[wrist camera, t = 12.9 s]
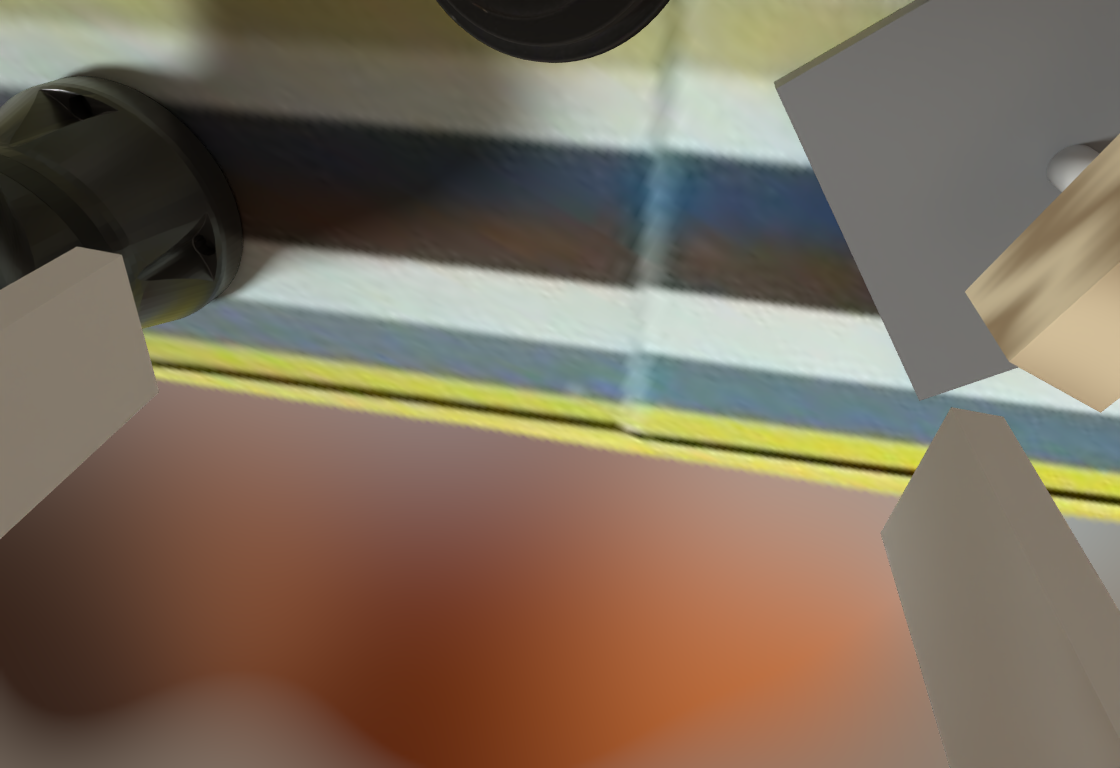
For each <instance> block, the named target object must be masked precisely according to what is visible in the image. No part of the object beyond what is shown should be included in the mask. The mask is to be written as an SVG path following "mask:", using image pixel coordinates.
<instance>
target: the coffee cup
mask: <svg viewBox="0 0 1120 768" xmlns="http://www.w3.org/2000/svg"><path fill="white" fill-rule="evenodd" d="M436 1H437V2H438V3H439V4H440V6H441V7H442V8H443V9H444V10H445V12H446V13H447V14H448V15H449V16H450V17H451V18H452V19H453V20H454V21H455V22H456V23H457V24H458V25H459V26H461V27H462V28H463V29H464V30H465V31H466V32H468V33H469V34H470V35H472V36H473V37H475V38H476V39H477V40H479V41H481V42H482V43H484V44H486V45H487V46H489V47H491V48H493V49H495V50H497V51H499V52H502V53H505V54H507V55H510V56H513V57H517V58H520V59H524V60H530V61H536V62H548V63H562V62H572V61H579V60H583V59H587V58H591V57H594V56H597V55H600V54H603V53H605V52H607V51H609V50H612V49H614V48H616V47H617V46H619V45H621V44H623V43H624V42H626V41H627V40H629V39H630V38H632V37H633V36H635V35H636V34H637V33H639V32H640V31H641V30H642V29H643V28H644V27H646V26H647V25H648V24H649V23H650V22H651V21H652V20H653V19H654V18H655V17H656V16H657V15H658V14H659V13H660V12H661V10H662V9H663V8H664V7H665V6H666V4H667V3H668V2H669V1H670V0H436Z"/></svg>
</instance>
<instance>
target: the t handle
mask: <svg viewBox="0 0 1120 768" xmlns="http://www.w3.org/2000/svg"><path fill="white" fill-rule="evenodd" d="M965 293H966V294H967V296H968V298H969V299H970V301H971V302H972V304H973V305H974V307H975V309H976V310H977V312H978V313H979V315H980V317H981V318H982V320H983V321H984V323H985V324H986V326H987V328H988V329H989V331H990V332H991V334H992V336H993V337H994V339H995V340H996V342H997V343H998V345H999V347H1000V348H1001V350H1002V351H1003V353H1004V355H1005V356H1006V358H1007V359H1008V361H1009V362H1010V363H1012V364H1014V365H1016V366H1018V367H1019V368H1021V369H1023V370H1025V371H1027V372H1028V373H1030V374H1032V375H1034V376H1036V377H1037V378H1039V379H1041V380H1043V381H1045V382H1046V383H1048V384H1050V385H1052V386H1054V387H1055V388H1057V389H1059V390H1061V391H1063V392H1064V393H1066V394H1068V395H1070V396H1072V397H1073V398H1075V399H1077V400H1079V401H1081V402H1082V403H1084V404H1086V405H1088V406H1090V407H1091V408H1093V409H1095V410H1097V411H1099V412H1100V413H1101V412H1102V411H1103V410H1105V409H1106V408H1107V407H1108V406H1110V405H1111V404H1112V403H1114V402H1115V401H1116V400H1117V399H1119V398H1120V134H1119V135H1118V136H1117V137H1116V138H1115V139H1114V140H1113V141H1112V142H1111V143H1110V144H1109V145H1108V146H1107V147H1106V148H1105V149H1104V150H1103V151H1102V152H1101V153H1100V154H1099V155H1098V156H1097V157H1096V158H1095V159H1094V160H1093V161H1092V162H1091V163H1090V164H1089V165H1088V166H1087V167H1086V168H1085V169H1084V170H1083V171H1082V172H1081V173H1080V175H1079V176H1078V177H1077V178H1076V179H1075V180H1074V181H1073V182H1072V183H1071V184H1070V185H1069V186H1068V187H1067V188H1066V189H1065V190H1064V191H1063V192H1062V193H1061V194H1060V195H1059V196H1058V197H1057V198H1056V199H1055V200H1054V201H1053V202H1052V203H1051V204H1050V205H1049V206H1048V207H1047V208H1046V209H1045V210H1044V211H1043V212H1042V213H1041V214H1040V215H1039V216H1038V217H1037V218H1036V219H1035V220H1034V221H1033V222H1032V223H1031V224H1030V225H1029V227H1028V228H1027V229H1026V230H1025V231H1024V232H1023V233H1022V234H1021V235H1020V236H1019V237H1018V238H1017V239H1016V240H1015V241H1014V242H1013V243H1012V244H1011V245H1010V246H1009V247H1008V248H1007V249H1006V250H1005V251H1004V252H1003V253H1002V254H1001V255H1000V256H999V257H998V258H997V259H996V260H995V261H994V262H993V263H992V264H991V265H990V266H989V267H988V268H987V269H986V270H985V271H984V272H983V273H982V274H981V275H980V276H979V278H978V279H977V280H976V281H975V282H974V283H973V284H972V285H971V286H970V287H969V288H968V289H967V290H966V291H965Z"/></svg>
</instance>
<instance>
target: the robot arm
mask: <svg viewBox="0 0 1120 768" xmlns="http://www.w3.org/2000/svg"><path fill="white" fill-rule="evenodd" d="M241 254H242V228H241V221H240V216H239V212H238V209H237V205H236V202H235V199H234V197H233V194H232V192H231V189H230V187H229V185H228V183H227V181H226V179H225V177H224V175H223V173H222V171H221V170H220V168H219V166H218V165H217V163H216V162H215V160H214V159H213V157H212V156H211V154H210V153H209V152H208V150H207V149H206V148H205V147H204V145H203V144H202V143H201V142H200V140H199V139H198V138H197V137H196V136H195V135H194V134H193V133H192V132H191V131H190V130H189V129H188V128H187V127H186V126H185V125H184V124H183V123H182V122H181V121H180V120H179V119H178V118H177V117H175V116H174V115H173V114H172V113H171V112H169V111H168V110H167V109H165V108H164V107H163V106H161V105H160V104H158V103H157V102H155V101H154V100H152V99H151V98H149V97H147V96H146V95H144V94H142V93H140V92H138V91H136V90H134V89H132V88H130V87H127V86H125V85H122V84H119V83H117V82H114V81H110V80H106V79H101V78H96V77H85V76H77V77H68V78H63V79H59V80H55V81H51V82H48V83H44V84H40V85H37V86H34V87H31V88H28V89H26V90H24V91H22V92H20V93H18V94H17V95H15V96H13V97H12V98H11V99H9V100H8V101H7V102H6V103H5V104H4V105H3V106H2V107H0V539H1V538H2V537H3V536H4V535H5V534H6V533H7V532H8V531H9V530H10V529H11V528H12V527H14V526H15V525H16V524H17V523H18V522H19V521H20V520H21V519H22V518H23V517H24V516H25V515H26V514H28V513H29V512H30V511H31V510H32V509H33V508H34V507H35V506H36V505H37V504H38V503H39V502H40V501H42V500H43V499H44V498H45V497H46V496H47V495H48V494H49V493H50V492H51V491H52V490H54V489H55V487H57V486H58V485H59V484H60V483H61V482H62V481H63V480H64V479H65V478H67V476H69V475H70V474H71V473H72V472H73V471H74V470H75V469H76V468H77V467H78V466H80V465H81V464H82V463H83V462H84V461H85V460H86V459H87V458H88V457H89V456H90V455H91V454H92V453H94V452H95V451H96V450H97V449H98V448H99V447H100V446H101V445H102V444H103V443H104V442H106V441H107V440H108V439H109V438H110V437H111V436H112V435H113V434H114V433H115V432H116V431H117V430H118V429H120V428H121V427H122V426H123V425H124V424H125V423H126V422H127V421H128V420H129V419H130V418H131V417H133V416H134V415H135V414H136V413H137V412H138V411H139V410H140V409H141V408H142V407H143V406H144V405H146V404H147V403H148V402H149V401H150V400H151V399H152V398H153V397H154V396H155V395H156V394H157V393H159V390H158V386H157V382H156V379H155V375H154V371H153V368H152V364H151V360H150V357H149V353H148V349H147V346H146V342H145V338H144V334H143V331H142V329H143V328H147V327H151V326H155V325H158V324H162V323H166V322H170V321H174V320H178V319H181V318H184V317H186V316H188V315H191V314H193V313H195V312H197V311H198V310H200V309H201V308H203V307H204V306H205V305H207V304H208V303H209V302H210V301H212V300H213V299H214V298H216V297H217V296H218V295H219V294H221V293H222V292H223V291H224V290H225V289H226V288H227V287H228V285H229V284H230V283H231V281H232V280H233V278H234V276H235V274H236V272H237V269H238V267H239V263H240V260H241ZM881 536H882V540H883V543H884V546H885V550H886V553H887V556H888V560H889V563H890V567H891V570H892V573H893V577H894V580H895V583H896V587H897V590H898V593H899V597H900V601H901V604H902V607H903V611H904V614H905V618H906V621H907V624H908V628H909V631H910V635H911V638H912V641H913V645H914V648H915V652H916V655H917V658H918V661H919V665H920V668H921V672H922V675H923V679H924V682H925V685H926V689H927V692H928V696H929V699H930V702H931V706H932V709H933V713H934V716H935V719H936V723H937V726H938V729H939V733H940V736H941V739H942V743H943V746H944V750H945V753H946V756H947V760H948V763H949V767H950V768H1120V611H1119V610H1118V608H1117V606H1116V605H1115V603H1114V601H1113V599H1112V598H1111V596H1110V594H1109V593H1108V591H1107V589H1106V588H1105V586H1104V584H1103V583H1102V581H1101V579H1100V578H1099V576H1098V574H1097V573H1096V571H1095V569H1094V568H1093V566H1092V564H1091V563H1090V561H1089V559H1088V558H1087V556H1086V554H1085V553H1084V551H1083V549H1082V548H1081V546H1080V544H1079V543H1078V541H1077V540H1076V538H1075V536H1074V534H1073V533H1072V531H1071V529H1070V528H1069V526H1068V524H1067V523H1066V521H1065V519H1064V517H1063V516H1062V514H1061V512H1060V511H1059V509H1058V507H1057V506H1056V504H1055V502H1054V501H1053V499H1052V497H1051V496H1050V494H1049V492H1048V491H1047V489H1046V487H1045V486H1044V484H1043V482H1042V481H1041V479H1040V477H1039V476H1038V474H1037V472H1036V471H1035V469H1034V467H1033V466H1032V464H1031V462H1030V461H1029V459H1028V457H1027V456H1026V454H1025V452H1024V451H1023V449H1022V447H1021V446H1020V444H1019V442H1018V441H1017V439H1016V437H1015V436H1014V434H1013V432H1012V430H1011V429H1010V427H1009V425H1008V424H1007V422H1006V420H1005V419H1004V417H1001V416H996V415H990V414H985V413H979V412H974V411H968V410H963V409H958V408H952V407H951V409H950V410H949V412H948V414H947V416H946V418H945V419H944V421H943V423H942V425H941V426H940V428H939V430H938V432H937V434H936V435H935V437H934V439H933V441H932V442H931V444H930V446H929V448H928V450H927V451H926V453H925V455H924V457H923V458H922V460H921V462H920V464H919V466H918V467H917V469H916V471H915V473H914V474H913V476H912V478H911V480H910V482H909V483H908V485H907V487H906V489H905V490H904V492H903V494H902V496H901V498H900V499H899V501H898V503H897V505H896V507H895V508H894V510H893V512H892V514H891V515H890V517H889V519H888V521H887V523H886V524H885V526H884V528H883V530H882V531H881Z"/></svg>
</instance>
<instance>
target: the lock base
mask: <svg viewBox="0 0 1120 768" xmlns="http://www.w3.org/2000/svg"><path fill="white" fill-rule="evenodd" d="M774 84H775V87H776V90H777V92H778V94H779V96H780V99H781V101H782V103H783V105H784V107H785V109H786V112H787V114H788V116H789V118H790V120H791V123H792V125H793V127H794V129H795V131H796V133H797V136H798V138H799V140H800V142H801V144H802V146H803V149H804V151H805V153H806V155H807V157H808V159H809V162H810V164H811V166H812V168H813V170H814V173H815V175H816V177H817V179H818V181H819V183H820V186H821V188H822V190H823V192H824V194H825V196H826V199H827V201H828V203H829V205H830V207H831V209H832V212H833V214H834V216H835V218H836V220H837V223H838V225H839V227H840V229H841V231H842V233H843V236H844V238H845V240H846V242H847V244H848V246H849V249H850V251H851V253H852V255H853V257H854V259H855V262H856V264H857V266H858V268H859V270H860V273H861V275H862V277H863V279H864V281H865V283H866V286H867V288H868V290H869V292H870V294H871V296H872V299H873V301H874V303H875V305H876V307H877V309H878V312H879V314H880V316H881V318H882V320H883V323H884V325H885V327H886V329H887V331H888V333H889V336H890V338H891V340H892V342H893V344H894V346H895V349H896V351H897V353H898V355H899V357H900V359H901V362H902V364H903V366H904V368H905V370H906V373H907V375H908V377H909V379H910V381H911V383H912V386H913V388H914V390H915V392H916V394H917V396H918V399H919V401H920V400H923V399H926V398H929V397H932V396H935V395H938V394H941V393H944V392H947V391H950V390H953V389H956V388H959V387H962V386H965V385H967V384H970V383H973V382H976V381H979V380H982V379H985V378H988V377H991V376H994V375H997V374H1000V373H1003V372H1006V371H1009V370H1012V369H1015V368H1018V366H1016V365H1014V364H1012V363H1010V362H1009V361H1008V359H1007V358H1006V356H1005V355H1004V353H1003V351H1002V350H1001V348H1000V347H999V345H998V343H997V342H996V340H995V339H994V337H993V336H992V334H991V332H990V331H989V329H988V328H987V326H986V324H985V323H984V321H983V320H982V318H981V317H980V315H979V313H978V312H977V310H976V309H975V307H974V305H973V304H972V302H971V301H970V299H969V298H968V296H967V294H966V293H965V291H966V290H967V289H968V288H969V287H970V286H971V285H972V284H973V283H974V282H975V281H976V280H977V279H978V278H979V276H980V275H981V274H982V273H983V272H984V271H985V270H986V269H987V268H988V267H989V266H990V265H991V264H992V263H993V262H994V261H995V260H996V259H997V258H998V257H999V256H1000V255H1001V254H1002V253H1003V252H1004V251H1005V250H1006V249H1007V248H1008V247H1009V246H1010V245H1011V244H1012V243H1013V242H1014V241H1015V240H1016V239H1017V238H1018V237H1019V236H1020V235H1021V234H1022V233H1023V232H1024V231H1025V230H1026V229H1027V228H1028V227H1029V225H1030V224H1031V223H1032V222H1033V221H1034V220H1035V219H1036V218H1037V217H1038V216H1039V215H1040V214H1041V213H1042V212H1043V211H1044V210H1045V209H1046V208H1047V207H1048V206H1049V205H1050V204H1051V203H1052V202H1053V201H1054V200H1055V199H1056V198H1057V197H1058V196H1059V195H1060V194H1061V193H1062V192H1063V191H1064V190H1065V189H1066V188H1067V187H1068V186H1069V185H1070V184H1071V183H1072V182H1073V181H1074V180H1075V179H1076V178H1077V177H1078V176H1079V175H1080V173H1081V172H1082V171H1083V170H1084V169H1085V168H1086V167H1087V166H1088V165H1089V164H1090V163H1091V162H1092V161H1093V160H1094V159H1095V158H1096V157H1097V156H1098V155H1099V154H1100V153H1101V152H1102V151H1103V150H1104V149H1105V148H1106V147H1107V146H1108V145H1109V144H1110V143H1111V142H1112V141H1113V140H1114V139H1115V138H1116V137H1117V136H1118V135H1119V134H1120V0H915V1H913V2H912V3H910V4H908V5H906V6H905V7H903V8H901V9H899V10H898V11H896V12H894V13H893V14H891V15H889V16H887V17H886V18H884V19H882V20H880V21H879V22H877V23H875V24H874V25H872V26H870V27H868V28H867V29H865V30H863V31H861V32H860V33H858V34H856V35H855V36H853V37H851V38H849V39H848V40H846V41H844V42H842V43H841V44H839V45H837V46H836V47H834V48H832V49H830V50H829V51H827V52H825V53H824V54H822V55H820V56H818V57H817V58H815V59H813V60H811V61H810V62H808V63H806V64H805V65H803V66H801V67H799V68H798V69H796V70H794V71H792V72H791V73H789V74H787V75H786V76H784V77H782V78H780V79H779V80H777V81H775V82H774Z"/></svg>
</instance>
